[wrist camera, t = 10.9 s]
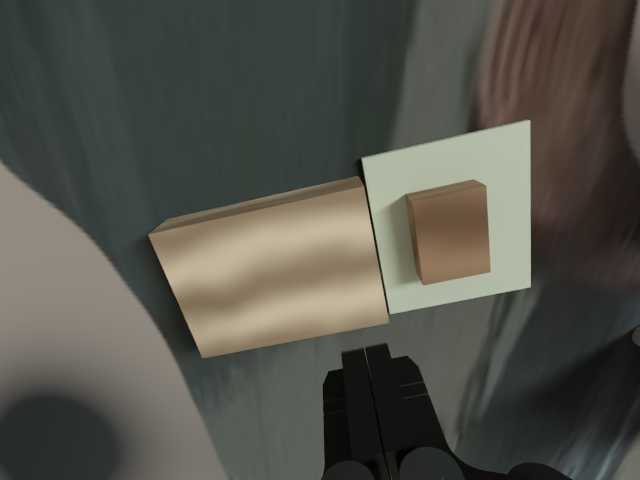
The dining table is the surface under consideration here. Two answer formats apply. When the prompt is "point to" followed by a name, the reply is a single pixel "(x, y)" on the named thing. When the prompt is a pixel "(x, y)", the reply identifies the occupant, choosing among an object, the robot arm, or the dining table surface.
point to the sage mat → (443, 169)
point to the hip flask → (636, 336)
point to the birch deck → (275, 268)
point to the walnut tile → (449, 231)
